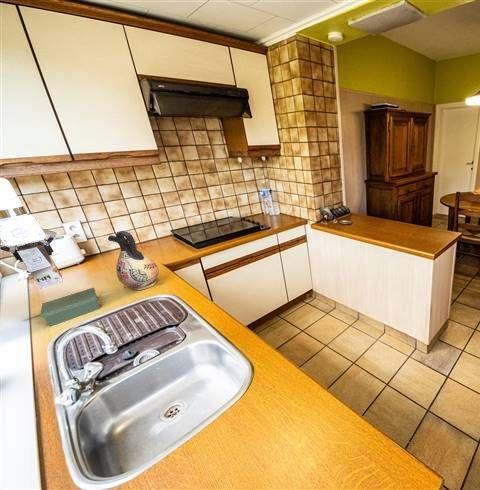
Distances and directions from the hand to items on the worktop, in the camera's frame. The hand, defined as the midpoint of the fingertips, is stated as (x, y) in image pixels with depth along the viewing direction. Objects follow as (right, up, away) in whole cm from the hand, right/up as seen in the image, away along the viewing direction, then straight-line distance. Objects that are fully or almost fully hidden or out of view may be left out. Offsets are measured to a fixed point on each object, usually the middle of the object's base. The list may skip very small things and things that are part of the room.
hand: (36, 257), depth 103 cm
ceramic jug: (+17, -16, +30) cm, 38 cm away
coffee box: (+1, -10, +4) cm, 11 cm away
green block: (+1, -24, +13) cm, 27 cm away
